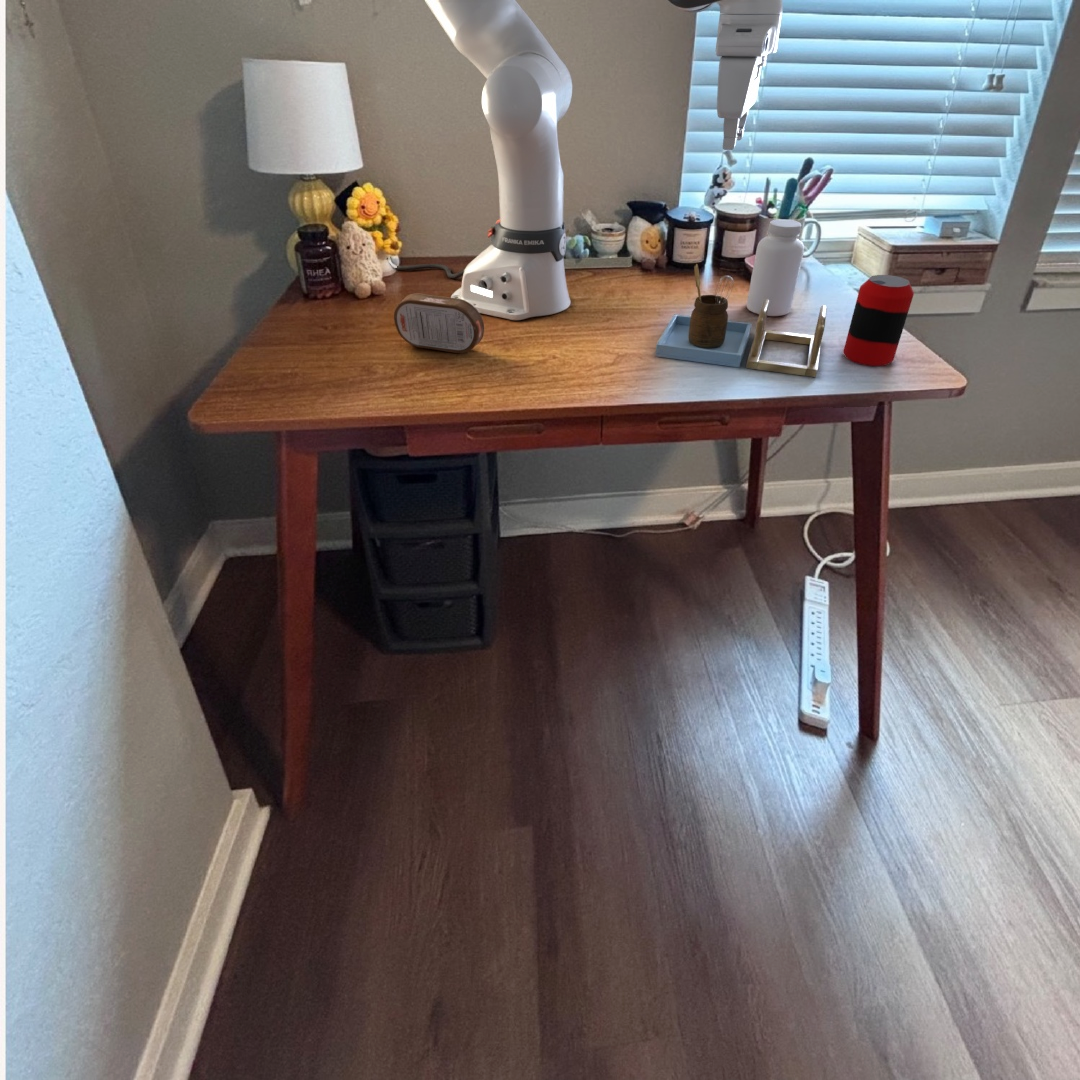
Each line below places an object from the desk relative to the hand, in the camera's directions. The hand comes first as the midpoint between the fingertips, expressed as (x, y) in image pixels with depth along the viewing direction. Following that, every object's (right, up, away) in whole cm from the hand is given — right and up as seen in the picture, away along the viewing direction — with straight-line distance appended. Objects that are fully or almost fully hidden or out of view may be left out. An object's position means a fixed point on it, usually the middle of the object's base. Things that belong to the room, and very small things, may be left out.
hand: (732, 144), depth 114 cm
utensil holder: (-3, -30, +4) cm, 31 cm away
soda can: (+21, -34, 0) cm, 40 cm away
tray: (-4, -31, +4) cm, 31 cm away
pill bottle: (+11, -21, +18) cm, 30 cm away
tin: (-47, -32, +4) cm, 57 cm away
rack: (+8, -33, +1) cm, 34 cm away
